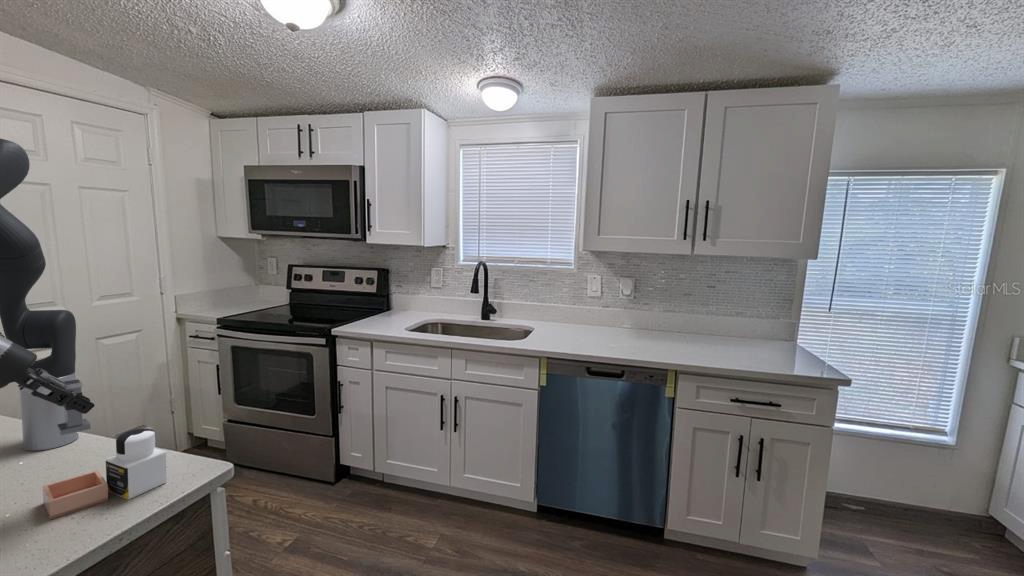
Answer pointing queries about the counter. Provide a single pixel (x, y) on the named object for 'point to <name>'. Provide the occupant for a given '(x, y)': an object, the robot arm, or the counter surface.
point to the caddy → (74, 494)
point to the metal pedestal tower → (73, 412)
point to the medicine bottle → (135, 464)
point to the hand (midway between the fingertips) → (87, 406)
